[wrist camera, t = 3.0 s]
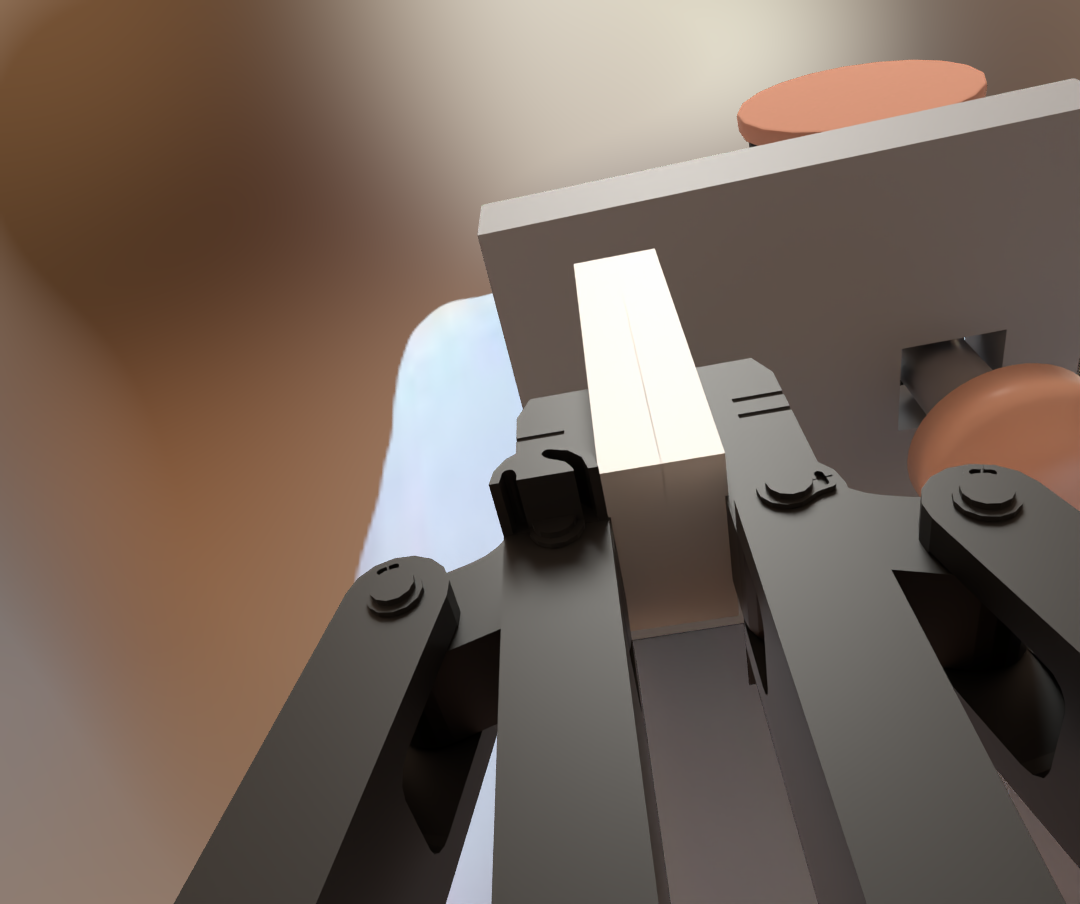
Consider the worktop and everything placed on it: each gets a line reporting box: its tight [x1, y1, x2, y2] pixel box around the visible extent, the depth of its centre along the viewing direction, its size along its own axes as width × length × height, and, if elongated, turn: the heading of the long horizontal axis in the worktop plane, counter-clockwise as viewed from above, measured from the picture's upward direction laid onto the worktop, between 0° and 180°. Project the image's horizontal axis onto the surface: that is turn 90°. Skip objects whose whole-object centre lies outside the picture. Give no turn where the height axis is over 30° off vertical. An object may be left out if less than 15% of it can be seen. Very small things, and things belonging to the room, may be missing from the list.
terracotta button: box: [900, 338, 1080, 511], centre depth 29 cm, size 8×6×6 cm
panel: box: [478, 78, 1080, 640], centre depth 33 cm, size 3×20×20 cm, turn 90°
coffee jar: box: [737, 60, 987, 386], centre depth 43 cm, size 11×11×18 cm
